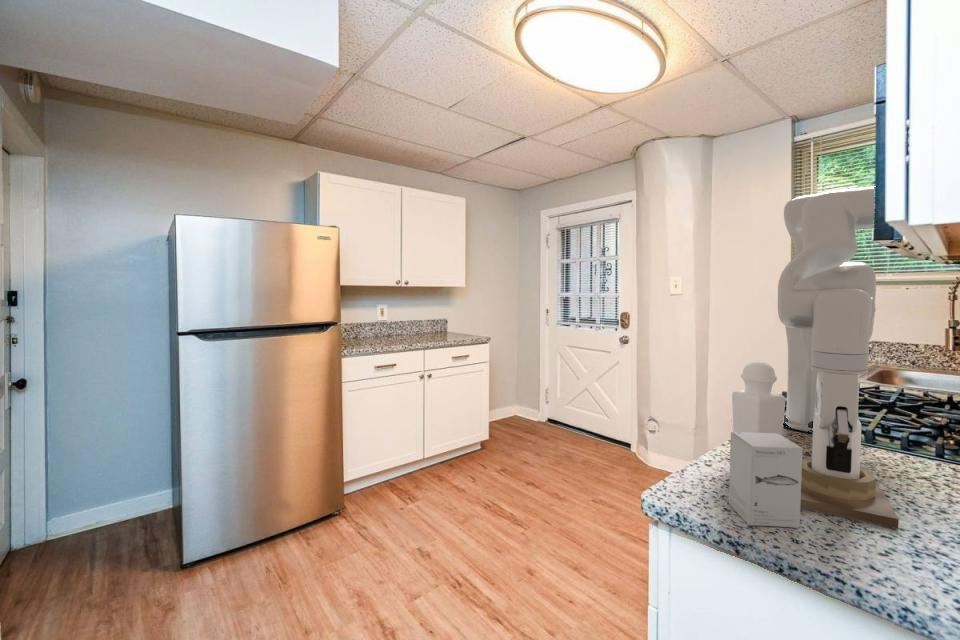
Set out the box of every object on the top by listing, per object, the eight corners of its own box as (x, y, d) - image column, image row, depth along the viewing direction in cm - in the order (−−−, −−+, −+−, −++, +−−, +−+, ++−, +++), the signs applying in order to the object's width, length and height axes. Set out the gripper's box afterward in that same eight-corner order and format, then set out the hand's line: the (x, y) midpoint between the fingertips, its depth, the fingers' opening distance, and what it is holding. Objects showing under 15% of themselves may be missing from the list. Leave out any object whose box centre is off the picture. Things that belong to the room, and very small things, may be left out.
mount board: (786, 468, 87) (787, 446, 86) (872, 483, 80) (873, 459, 79) (791, 506, 72) (792, 480, 71) (898, 528, 65) (899, 499, 64)
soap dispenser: (755, 461, 91) (758, 357, 89) (784, 474, 84) (787, 362, 83) (729, 465, 89) (731, 359, 88) (757, 478, 83) (759, 364, 81)
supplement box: (749, 527, 66) (750, 445, 65) (727, 503, 73) (729, 430, 72) (801, 529, 65) (804, 447, 64) (775, 505, 72) (777, 431, 71)
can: (860, 491, 71) (863, 420, 70) (811, 481, 75) (813, 413, 74) (857, 477, 76) (860, 411, 75) (811, 469, 80) (813, 405, 79)
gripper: (807, 354, 84) (804, 444, 85) (816, 368, 69) (812, 477, 70) (858, 356, 79) (854, 451, 81) (879, 372, 65) (874, 487, 66)
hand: (835, 462), depth 75 cm, fingers closed on can, 6 cm apart
